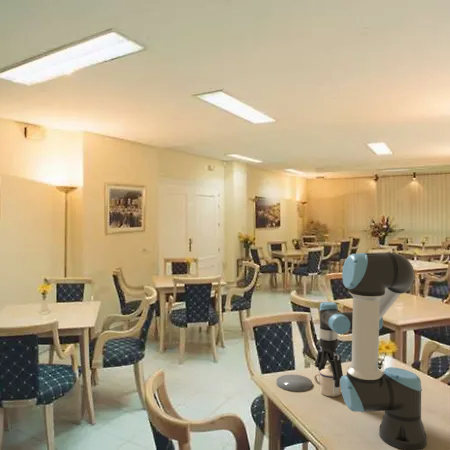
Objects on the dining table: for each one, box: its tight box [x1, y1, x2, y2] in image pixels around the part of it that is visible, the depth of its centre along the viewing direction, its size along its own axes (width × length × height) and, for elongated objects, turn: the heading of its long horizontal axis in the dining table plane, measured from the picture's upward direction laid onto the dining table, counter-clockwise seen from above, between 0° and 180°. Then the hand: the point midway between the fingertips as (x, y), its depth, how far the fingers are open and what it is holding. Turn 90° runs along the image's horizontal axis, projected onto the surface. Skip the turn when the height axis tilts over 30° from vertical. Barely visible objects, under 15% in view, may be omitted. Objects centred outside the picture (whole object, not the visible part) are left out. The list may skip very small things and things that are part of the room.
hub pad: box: [276, 374, 313, 392], centre depth 188 cm, size 16×16×1 cm
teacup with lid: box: [313, 365, 342, 398], centre depth 179 cm, size 12×9×12 cm
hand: (329, 389), depth 178 cm, fingers closed on teacup with lid, 9 cm apart
